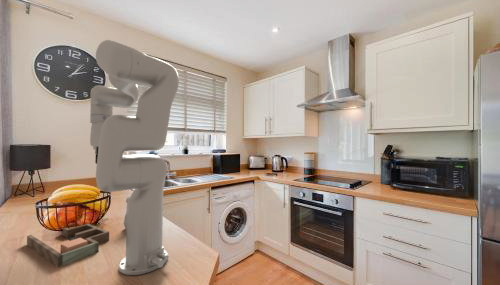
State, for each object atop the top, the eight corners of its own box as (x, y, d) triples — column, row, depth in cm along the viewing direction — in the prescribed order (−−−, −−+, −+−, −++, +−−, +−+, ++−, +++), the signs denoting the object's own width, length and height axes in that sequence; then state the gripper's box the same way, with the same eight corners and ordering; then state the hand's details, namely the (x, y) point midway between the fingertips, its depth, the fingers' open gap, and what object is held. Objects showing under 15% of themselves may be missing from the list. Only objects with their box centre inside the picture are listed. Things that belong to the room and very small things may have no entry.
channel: (118, 243, 71) (118, 235, 71) (57, 267, 57) (58, 256, 57) (82, 228, 84) (82, 221, 84) (26, 244, 71) (27, 235, 71)
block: (87, 253, 65) (87, 240, 65) (67, 261, 61) (67, 247, 61) (79, 249, 67) (80, 237, 67) (60, 256, 63) (60, 243, 63)
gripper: (120, 119, 85) (119, 163, 85) (102, 122, 93) (101, 162, 92) (100, 117, 79) (99, 165, 78) (82, 120, 86) (81, 163, 86)
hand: (100, 163), depth 85 cm, fingers closed
